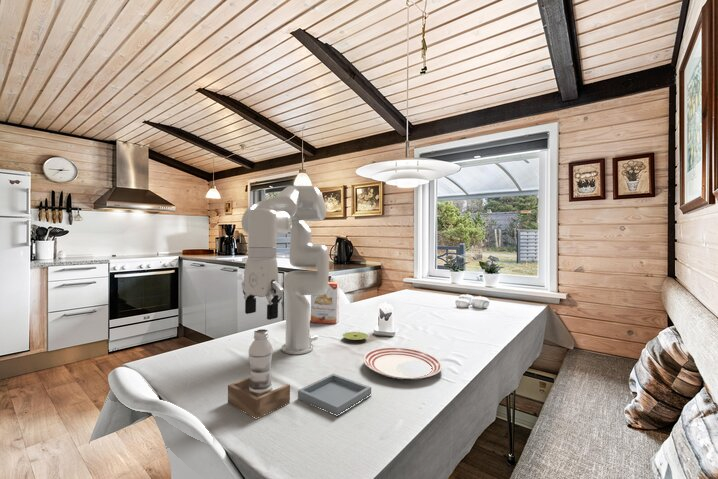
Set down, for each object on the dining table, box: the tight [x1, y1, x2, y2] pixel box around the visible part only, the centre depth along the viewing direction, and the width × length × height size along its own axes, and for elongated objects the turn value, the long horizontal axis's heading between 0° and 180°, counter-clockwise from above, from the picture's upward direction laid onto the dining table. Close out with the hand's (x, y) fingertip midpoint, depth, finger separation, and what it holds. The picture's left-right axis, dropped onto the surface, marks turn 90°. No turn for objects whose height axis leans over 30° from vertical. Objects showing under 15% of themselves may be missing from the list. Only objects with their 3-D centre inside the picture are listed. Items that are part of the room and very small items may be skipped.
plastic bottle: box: [248, 328, 274, 397], centre depth 96 cm, size 6×7×20 cm
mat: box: [342, 331, 369, 341], centre depth 153 cm, size 11×11×2 cm
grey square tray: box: [297, 373, 372, 415], centre depth 100 cm, size 15×15×2 cm
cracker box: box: [310, 281, 340, 325], centre depth 180 cm, size 14×6×21 cm, turn 81°
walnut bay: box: [227, 376, 291, 419], centre depth 96 cm, size 11×13×5 cm
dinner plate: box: [362, 346, 443, 380], centre depth 122 cm, size 28×27×3 cm
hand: (261, 315), depth 95 cm, fingers open, 9 cm apart
